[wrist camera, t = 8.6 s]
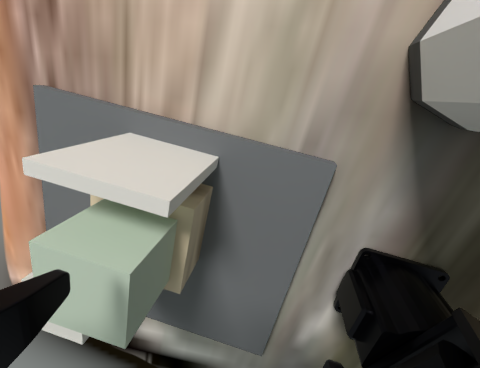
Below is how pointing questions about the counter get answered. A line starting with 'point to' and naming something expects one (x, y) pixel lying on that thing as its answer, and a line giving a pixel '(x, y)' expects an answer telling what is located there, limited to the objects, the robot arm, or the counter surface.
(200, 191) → the oak base block
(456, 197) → the counter surface
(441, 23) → the wine bottle
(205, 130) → the mat
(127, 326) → the sage cube
